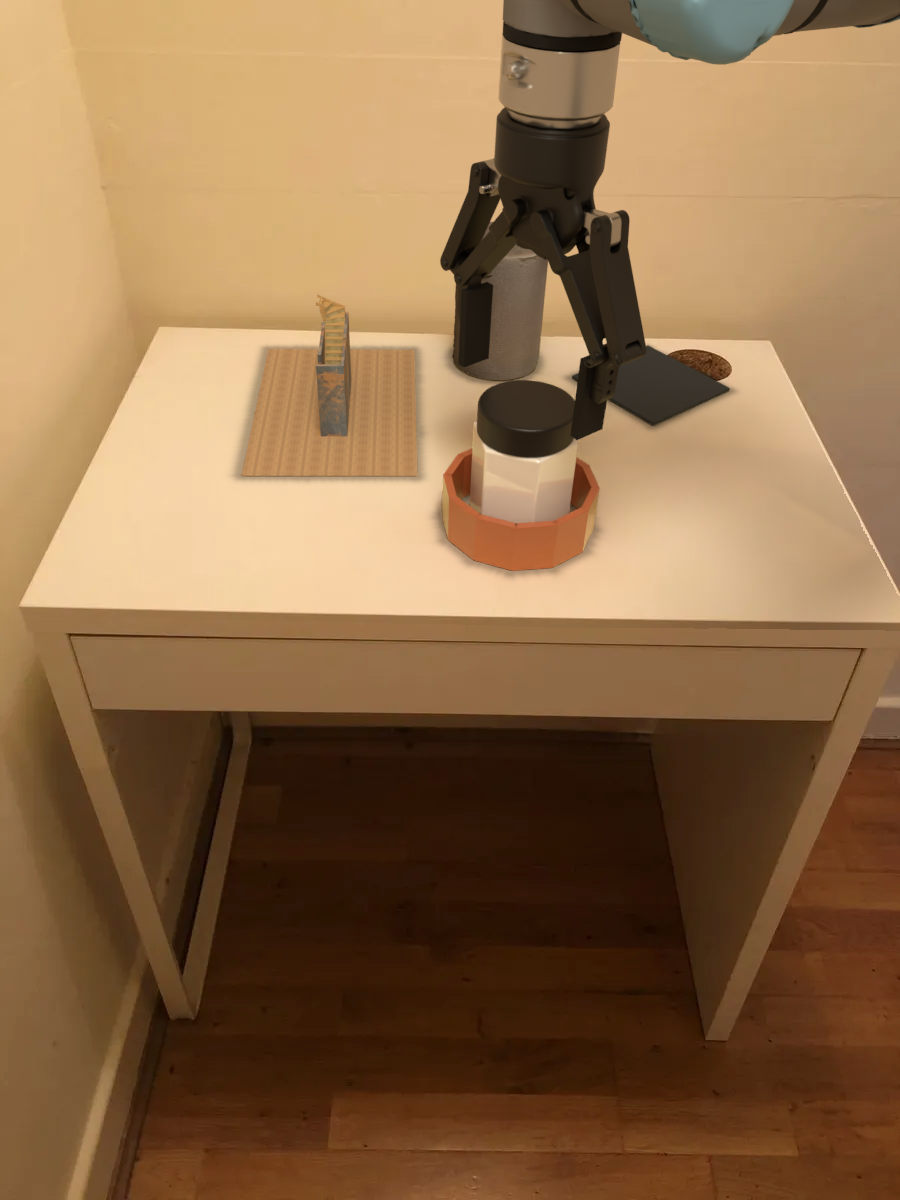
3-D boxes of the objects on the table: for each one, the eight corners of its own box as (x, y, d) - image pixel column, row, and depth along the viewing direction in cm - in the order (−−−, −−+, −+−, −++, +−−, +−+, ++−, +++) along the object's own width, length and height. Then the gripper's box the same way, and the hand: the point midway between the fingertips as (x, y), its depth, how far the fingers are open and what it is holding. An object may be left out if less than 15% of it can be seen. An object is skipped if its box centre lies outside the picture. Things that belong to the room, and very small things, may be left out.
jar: (577, 507, 89) (593, 390, 81) (554, 561, 83) (570, 440, 75) (483, 487, 91) (489, 370, 83) (455, 537, 85) (459, 417, 77)
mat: (729, 391, 106) (730, 387, 105) (653, 426, 100) (653, 422, 100) (647, 348, 112) (647, 345, 112) (571, 378, 107) (572, 375, 106)
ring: (621, 532, 86) (628, 490, 83) (510, 590, 80) (514, 547, 77) (523, 465, 94) (527, 424, 91) (414, 513, 88) (414, 471, 85)
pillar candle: (435, 354, 110) (437, 220, 100) (502, 332, 115) (511, 201, 105) (489, 390, 104) (497, 252, 94) (557, 365, 109) (572, 231, 99)
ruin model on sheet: (268, 349, 110) (259, 264, 103) (414, 350, 111) (414, 266, 104) (241, 475, 91) (228, 382, 85) (417, 476, 92) (417, 383, 86)
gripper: (396, 74, 70) (397, 347, 84) (655, 177, 56) (604, 484, 70) (477, 60, 73) (465, 323, 88) (740, 153, 59) (675, 450, 73)
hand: (527, 395), depth 79 cm, fingers open, 13 cm apart
